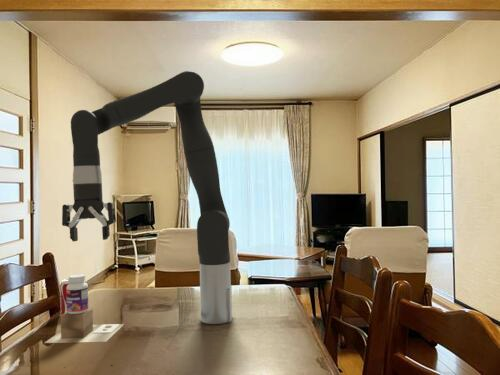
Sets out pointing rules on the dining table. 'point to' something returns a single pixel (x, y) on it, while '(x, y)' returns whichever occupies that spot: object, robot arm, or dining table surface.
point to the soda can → (63, 296)
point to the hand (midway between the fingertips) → (90, 240)
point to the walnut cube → (76, 324)
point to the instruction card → (106, 328)
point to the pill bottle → (77, 295)
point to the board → (89, 338)
